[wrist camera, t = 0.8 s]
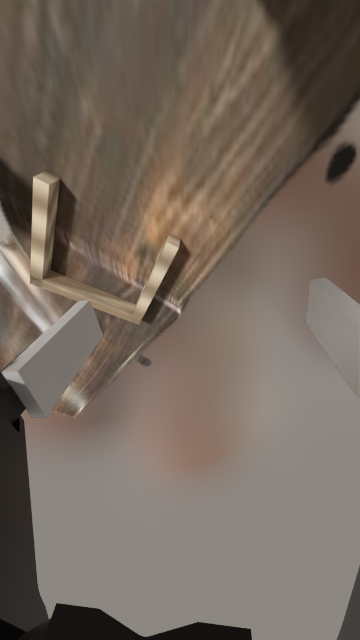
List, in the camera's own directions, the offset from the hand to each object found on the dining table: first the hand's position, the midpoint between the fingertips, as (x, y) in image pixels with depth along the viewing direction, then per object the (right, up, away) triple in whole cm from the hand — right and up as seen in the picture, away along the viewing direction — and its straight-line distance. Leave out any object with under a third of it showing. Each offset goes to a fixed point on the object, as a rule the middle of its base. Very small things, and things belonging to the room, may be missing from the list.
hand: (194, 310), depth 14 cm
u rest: (-14, +10, +27) cm, 33 cm away
